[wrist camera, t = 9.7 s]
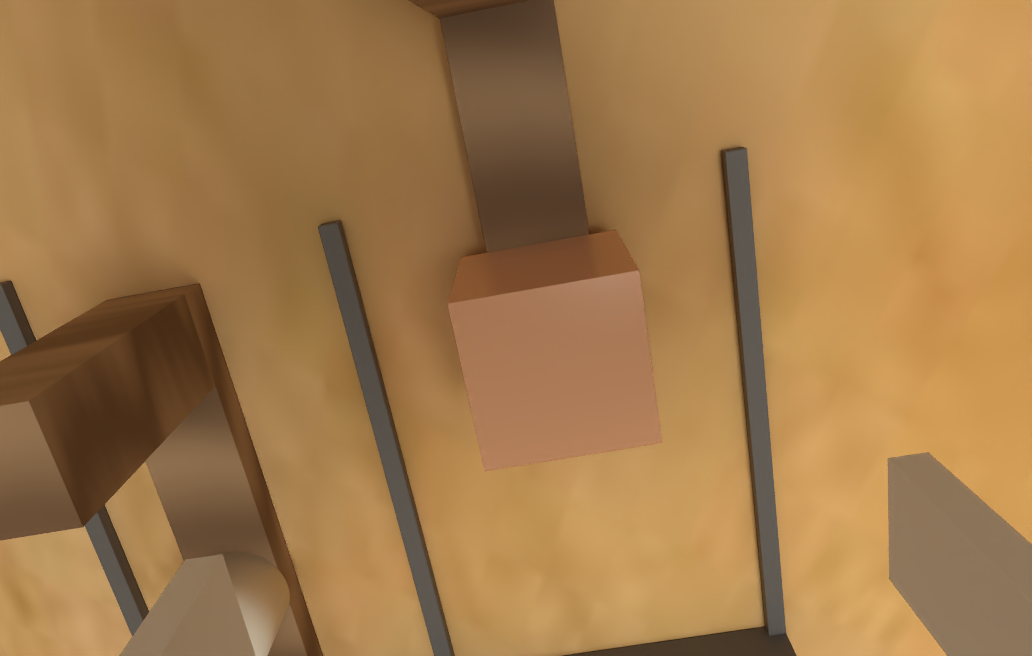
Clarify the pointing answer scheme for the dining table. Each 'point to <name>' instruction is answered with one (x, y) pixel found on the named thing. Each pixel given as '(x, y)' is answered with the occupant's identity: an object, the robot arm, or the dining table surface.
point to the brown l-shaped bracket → (140, 436)
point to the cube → (555, 350)
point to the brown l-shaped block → (514, 118)
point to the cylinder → (258, 597)
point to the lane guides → (736, 652)
